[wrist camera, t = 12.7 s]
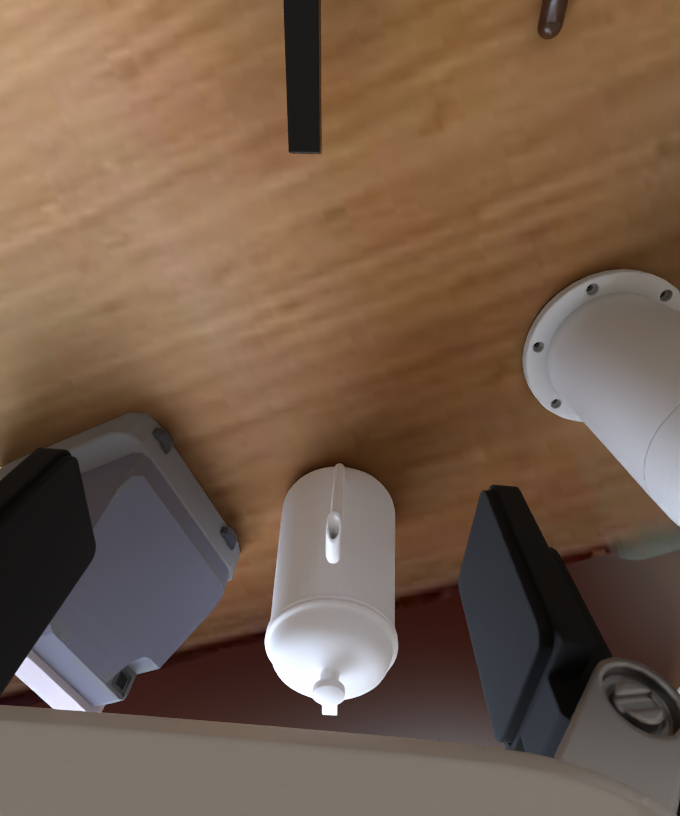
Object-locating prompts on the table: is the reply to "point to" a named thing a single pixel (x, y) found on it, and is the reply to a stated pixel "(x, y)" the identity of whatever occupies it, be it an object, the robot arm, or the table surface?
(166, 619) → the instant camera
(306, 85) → the saucepan
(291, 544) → the coffeepot
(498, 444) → the table surface
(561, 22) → the spatula
